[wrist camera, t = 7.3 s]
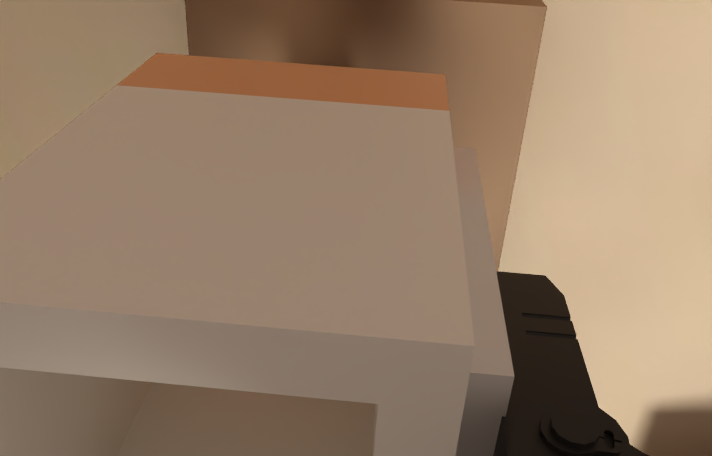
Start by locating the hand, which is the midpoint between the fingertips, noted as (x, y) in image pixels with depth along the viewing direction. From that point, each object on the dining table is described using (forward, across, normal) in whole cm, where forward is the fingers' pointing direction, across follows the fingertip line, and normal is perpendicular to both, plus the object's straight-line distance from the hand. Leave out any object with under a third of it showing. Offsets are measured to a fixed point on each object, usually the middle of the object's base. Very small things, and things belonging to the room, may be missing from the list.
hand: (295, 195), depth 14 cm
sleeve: (0, 0, 0) cm, 0 cm away
